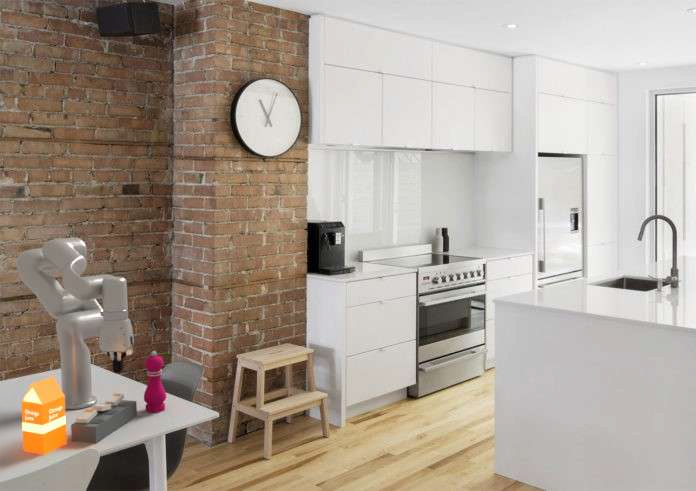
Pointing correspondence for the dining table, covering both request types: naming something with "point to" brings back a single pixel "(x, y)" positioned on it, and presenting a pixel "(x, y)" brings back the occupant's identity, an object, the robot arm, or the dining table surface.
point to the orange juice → (43, 417)
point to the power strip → (104, 422)
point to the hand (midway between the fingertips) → (118, 371)
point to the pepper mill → (154, 384)
